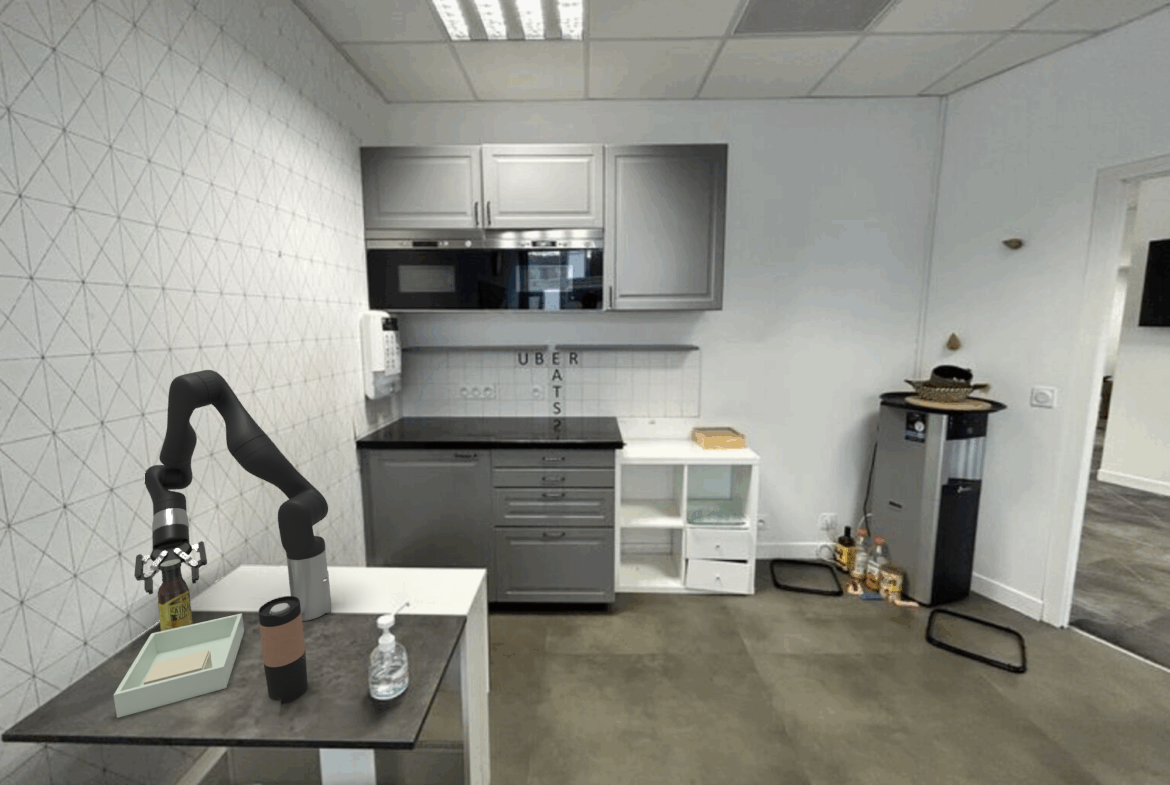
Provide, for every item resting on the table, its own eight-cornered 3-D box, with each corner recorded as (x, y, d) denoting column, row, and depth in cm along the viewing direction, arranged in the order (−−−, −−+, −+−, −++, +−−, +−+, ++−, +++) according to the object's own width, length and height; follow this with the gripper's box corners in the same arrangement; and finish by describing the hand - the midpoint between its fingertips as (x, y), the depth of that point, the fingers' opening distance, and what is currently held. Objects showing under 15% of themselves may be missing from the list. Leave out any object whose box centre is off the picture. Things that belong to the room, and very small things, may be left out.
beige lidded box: (212, 669, 112) (210, 649, 112) (205, 689, 106) (202, 668, 105) (156, 683, 108) (153, 662, 107) (145, 705, 102) (142, 683, 101)
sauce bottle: (175, 646, 122) (165, 570, 119) (155, 643, 123) (144, 568, 121) (201, 630, 129) (191, 558, 126) (181, 627, 130) (171, 556, 127)
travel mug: (282, 678, 110) (273, 595, 108) (316, 679, 110) (307, 595, 107) (259, 705, 103) (248, 616, 100) (295, 705, 103) (285, 616, 100)
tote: (244, 635, 126) (241, 613, 125) (226, 691, 107) (223, 666, 106) (154, 656, 118) (151, 633, 118) (117, 722, 99) (113, 695, 98)
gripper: (132, 530, 126) (132, 591, 119) (202, 516, 135) (206, 573, 127) (138, 542, 131) (138, 602, 124) (205, 529, 140) (209, 584, 132)
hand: (172, 587), depth 125 cm, fingers open, 8 cm apart
